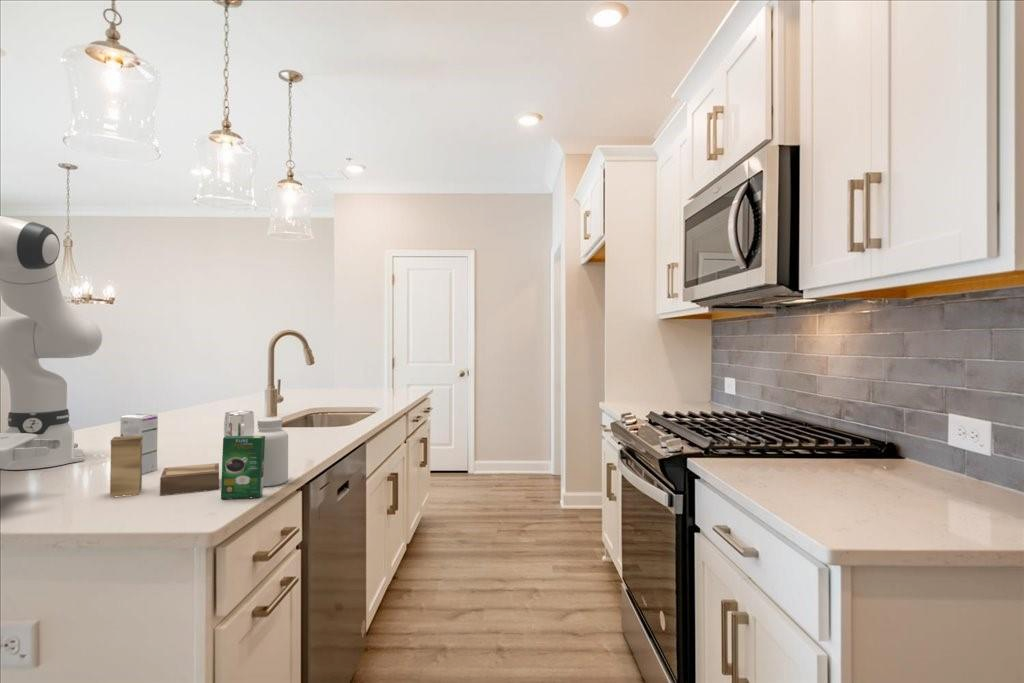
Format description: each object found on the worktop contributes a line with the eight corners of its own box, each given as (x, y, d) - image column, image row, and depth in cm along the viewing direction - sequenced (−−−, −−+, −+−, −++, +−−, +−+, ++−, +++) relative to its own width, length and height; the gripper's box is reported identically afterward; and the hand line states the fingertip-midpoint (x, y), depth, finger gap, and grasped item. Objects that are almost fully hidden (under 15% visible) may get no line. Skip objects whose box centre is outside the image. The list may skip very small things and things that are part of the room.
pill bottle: (252, 480, 127) (253, 417, 127) (288, 477, 129) (289, 416, 129) (248, 488, 119) (249, 422, 119) (287, 485, 122) (288, 421, 122)
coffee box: (265, 494, 115) (265, 434, 115) (261, 498, 112) (262, 436, 112) (224, 496, 113) (225, 435, 113) (220, 500, 110) (221, 437, 110)
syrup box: (158, 469, 135) (159, 413, 135) (139, 475, 129) (140, 416, 129) (137, 469, 136) (138, 412, 136) (118, 474, 130) (119, 415, 130)
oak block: (113, 492, 115) (114, 436, 115) (141, 489, 117) (142, 435, 117) (109, 497, 111) (110, 440, 111) (139, 494, 113) (140, 438, 113)
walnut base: (164, 484, 122) (164, 467, 122) (218, 478, 127) (218, 462, 127) (160, 495, 113) (160, 476, 113) (218, 489, 118) (219, 471, 118)
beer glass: (259, 469, 136) (260, 412, 136) (232, 475, 131) (233, 414, 131) (243, 466, 140) (244, 409, 140) (217, 471, 134) (218, 412, 134)
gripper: (-64, 445, 92) (40, 439, 99) (-19, 429, 110) (66, 425, 117) (-65, 481, 92) (39, 472, 99) (-20, 460, 110) (66, 454, 117)
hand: (54, 447), depth 108 cm, fingers open, 8 cm apart
